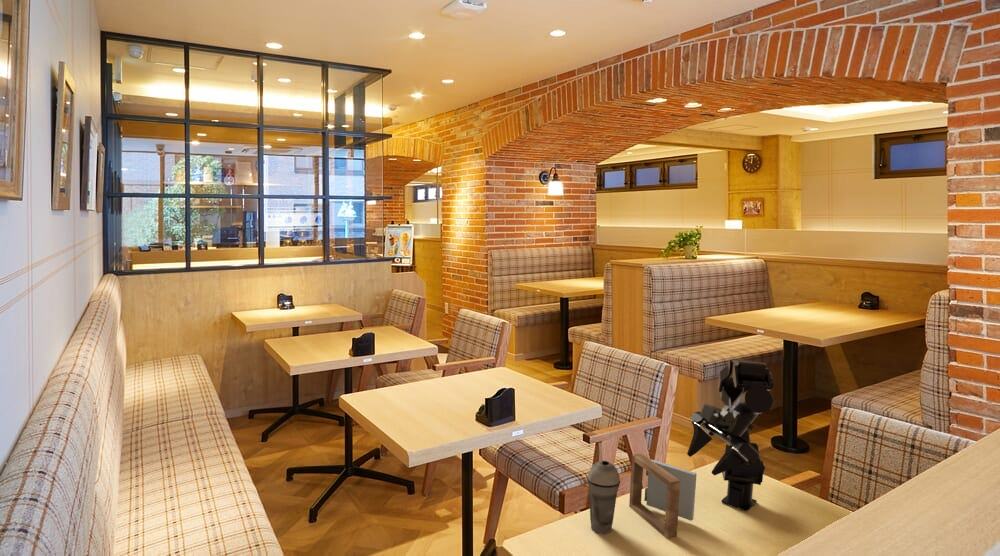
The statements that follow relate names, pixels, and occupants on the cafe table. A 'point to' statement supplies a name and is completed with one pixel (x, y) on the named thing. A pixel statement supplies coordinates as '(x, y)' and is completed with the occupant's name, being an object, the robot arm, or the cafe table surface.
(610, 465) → the beverage cup
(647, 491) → the cabinet door
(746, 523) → the cafe table surface
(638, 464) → the cabinet frame
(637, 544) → the cafe table surface
